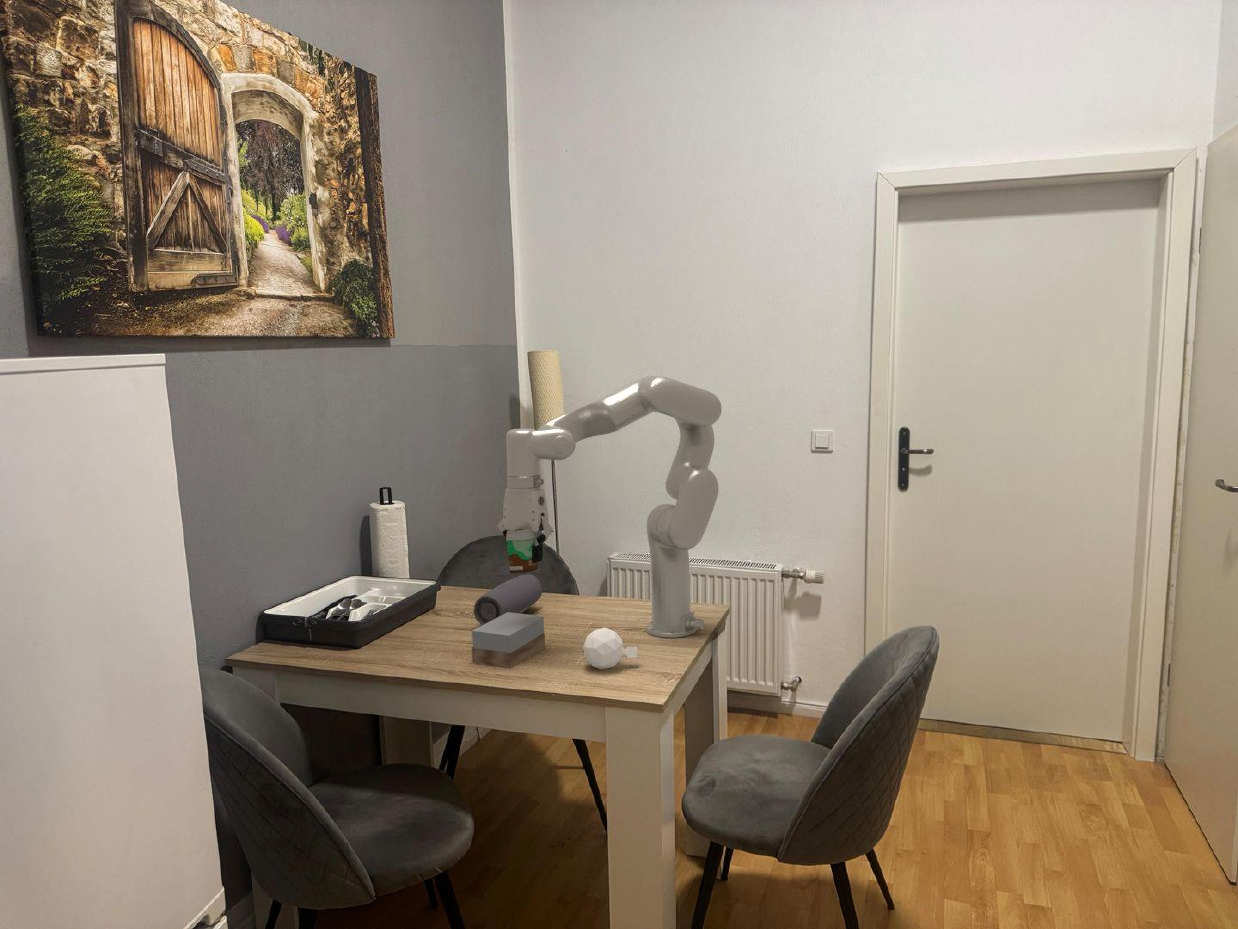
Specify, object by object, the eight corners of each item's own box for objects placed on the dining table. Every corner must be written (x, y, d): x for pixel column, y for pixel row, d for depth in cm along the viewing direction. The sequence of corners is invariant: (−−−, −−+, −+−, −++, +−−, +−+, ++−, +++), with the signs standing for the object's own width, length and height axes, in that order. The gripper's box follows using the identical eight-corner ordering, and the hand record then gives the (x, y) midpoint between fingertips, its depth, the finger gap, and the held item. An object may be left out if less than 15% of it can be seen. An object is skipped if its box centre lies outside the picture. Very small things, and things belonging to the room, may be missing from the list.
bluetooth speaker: (514, 606, 239) (513, 571, 238) (544, 608, 236) (543, 573, 235) (472, 630, 218) (470, 592, 217) (504, 634, 215) (502, 595, 214)
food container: (533, 576, 192) (532, 532, 190) (507, 574, 193) (505, 531, 192) (550, 563, 204) (549, 521, 202) (526, 562, 205) (524, 521, 204)
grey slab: (544, 632, 204) (543, 616, 203) (510, 653, 190) (509, 635, 190) (508, 628, 208) (507, 612, 208) (472, 647, 195) (471, 630, 194)
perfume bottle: (580, 668, 184) (636, 673, 184) (584, 625, 185) (640, 630, 186) (580, 667, 192) (634, 671, 193) (584, 625, 194) (637, 630, 194)
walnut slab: (545, 649, 204) (544, 633, 203) (508, 670, 191) (507, 653, 190) (510, 644, 209) (510, 628, 208) (472, 664, 196) (471, 647, 195)
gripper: (564, 483, 195) (565, 561, 197) (504, 478, 204) (506, 553, 206) (544, 487, 189) (546, 567, 191) (484, 482, 197) (486, 559, 199)
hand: (525, 559), depth 198 cm, fingers closed on food container, 5 cm apart
